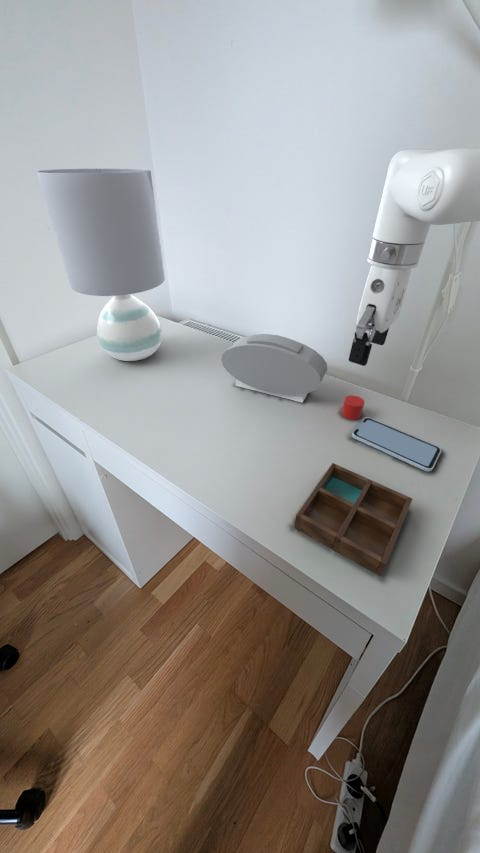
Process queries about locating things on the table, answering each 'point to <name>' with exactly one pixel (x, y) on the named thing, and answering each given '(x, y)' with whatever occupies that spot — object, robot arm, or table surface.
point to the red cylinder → (352, 407)
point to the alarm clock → (275, 366)
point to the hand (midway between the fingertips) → (366, 352)
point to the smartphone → (397, 443)
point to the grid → (354, 517)
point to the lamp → (110, 249)
